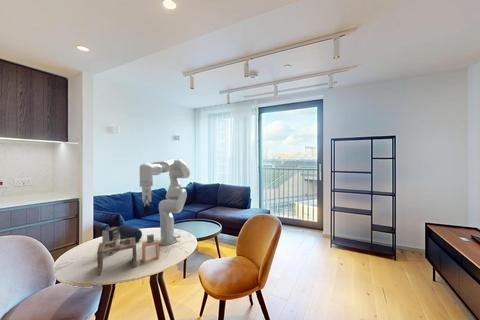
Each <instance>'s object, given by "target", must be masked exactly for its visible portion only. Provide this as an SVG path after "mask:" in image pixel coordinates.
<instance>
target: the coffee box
mask: <svg viewBox="0 0 480 320" xmlns="http://www.w3.org/2000/svg"><path fill="white" fill-rule="evenodd" d="M101 231H102V233H101V234H102V235H101V236H102V242H101V243H103V242H109V241H115V240H121V238H120V227H119V226H111V227H108V228H106V229H102V230H101ZM112 247H115V245H110V246H105V249H106V248H112ZM117 252H119V251H115V252H110V253H104V254H103V256H112V255H114V254H116V253H117Z"/></svg>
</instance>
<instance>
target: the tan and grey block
mask: <svg viewBox="0 0 480 320" xmlns="http://www.w3.org/2000/svg"><path fill="white" fill-rule="evenodd" d="M159 240H160V239H158V238H157V239H155V235H154V234H153V233H152V234H147V235H146V241H142V242H141V246H142V247H141V249H142V251H141V252H142V253H141V254H142V258H141V259H142V263H145V262H146V247H151V246H155V257H156V260H158V259H160V244H159Z"/></svg>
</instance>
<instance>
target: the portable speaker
mask: <svg viewBox="0 0 480 320" xmlns="http://www.w3.org/2000/svg"><path fill="white" fill-rule="evenodd" d="M118 227H120V239H127V238H133V237H135V241H136V243H138V242H139V241H140V240H141V239H142V236H143V233H142V232H143V231H142V230H141V229H140V228H137V227H134V226H130V225H128V224H127V225H126V224H121V225H119V226H118Z"/></svg>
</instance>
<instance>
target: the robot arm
mask: <svg viewBox="0 0 480 320" xmlns="http://www.w3.org/2000/svg"><path fill="white" fill-rule="evenodd" d="M162 173H163V174H164V173H168V176H169V180H170V183H169V186H168V188H167V191H166V194H165V199H162V200H160V201H159V203H158V211H159V218H160V219H159V221H160V222H159V223H160V228H159V229H160V238H159V239H158V240H159V245H161V246H169V245H173V244H175V243H176V242H177V239H180V238H181V234H175V222H174V221H175V219H174V218H175V217H174V215H173V214H179V213H181V212H182V211H183V209H184V206H185V203H186V200H187V196H188V192H187V190H186V189H185V188H183V187H182V188H181V186H182V184H181V182H180V181H179V179H188V178H190V175H191V170H190V168H189V167H188V165H187V164H186V162H185V161H184V160H183V159H167V160H161V161H153V162H147V163H142V164H140V165H139V187H141V198H142V206H143V214H148V213H150V212H151V211H150V203H151V202H152V187H153V185H154V183H153V176H159V175H161V174H162Z"/></svg>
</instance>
